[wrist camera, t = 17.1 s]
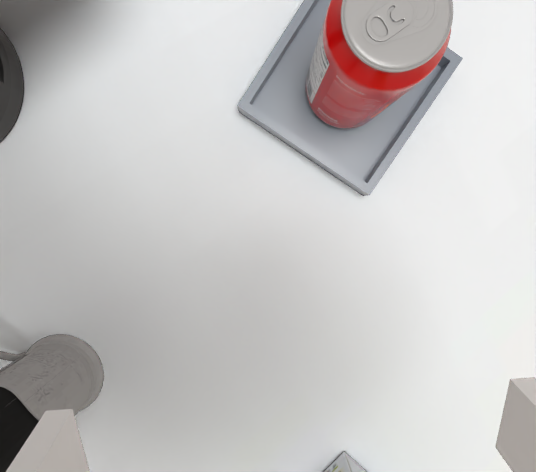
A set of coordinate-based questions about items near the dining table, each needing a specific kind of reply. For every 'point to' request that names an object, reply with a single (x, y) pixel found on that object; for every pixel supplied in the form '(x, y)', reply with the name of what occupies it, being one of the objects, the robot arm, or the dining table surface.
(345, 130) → the tray
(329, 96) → the soda can
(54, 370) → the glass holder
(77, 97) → the dining table surface
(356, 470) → the tea box
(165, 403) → the dining table surface
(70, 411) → the robot arm
